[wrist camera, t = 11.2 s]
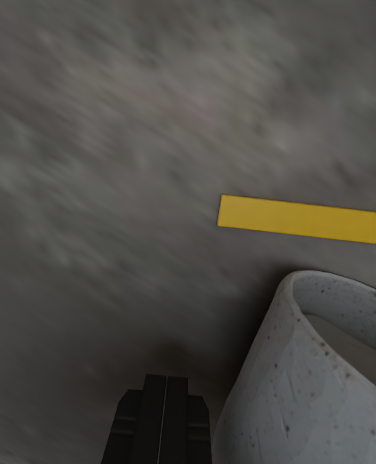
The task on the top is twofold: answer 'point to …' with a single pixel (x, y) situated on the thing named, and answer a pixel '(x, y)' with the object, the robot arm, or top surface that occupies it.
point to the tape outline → (297, 218)
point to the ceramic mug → (306, 379)
